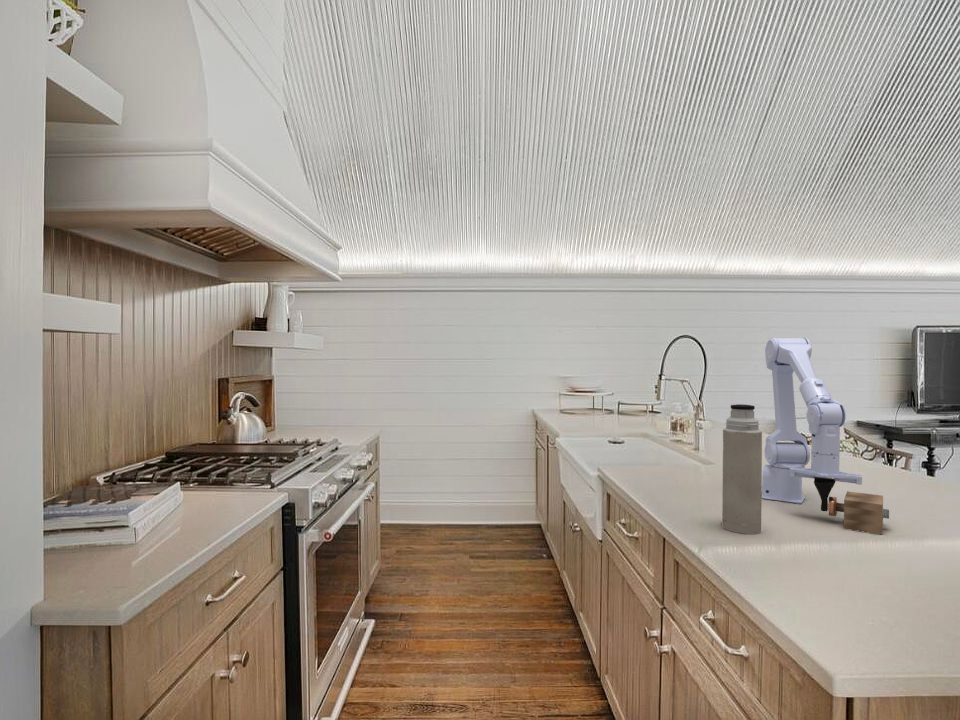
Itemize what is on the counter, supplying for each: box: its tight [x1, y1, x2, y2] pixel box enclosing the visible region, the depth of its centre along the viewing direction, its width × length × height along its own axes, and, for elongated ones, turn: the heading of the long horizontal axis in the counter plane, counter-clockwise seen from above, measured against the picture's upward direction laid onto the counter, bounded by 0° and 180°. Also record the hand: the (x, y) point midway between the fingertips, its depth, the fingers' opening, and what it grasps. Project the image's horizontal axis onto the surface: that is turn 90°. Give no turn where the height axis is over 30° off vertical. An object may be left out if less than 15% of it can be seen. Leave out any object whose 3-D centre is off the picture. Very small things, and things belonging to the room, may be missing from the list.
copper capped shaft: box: [827, 495, 890, 519], centre depth 128 cm, size 11×4×4 cm, turn 53°
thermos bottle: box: [721, 403, 763, 535], centre depth 125 cm, size 8×8×28 cm
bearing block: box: [843, 490, 884, 535], centre depth 128 cm, size 7×10×7 cm
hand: (824, 510), depth 132 cm, fingers closed
